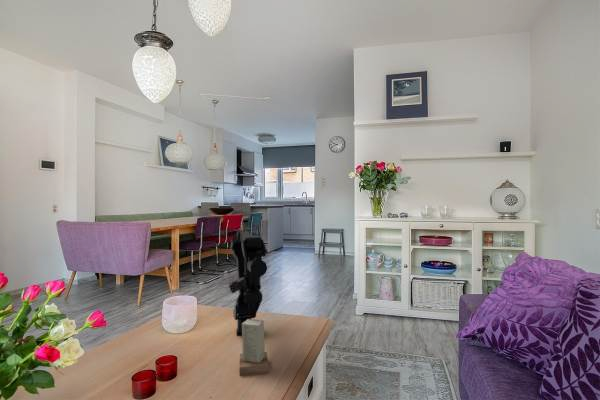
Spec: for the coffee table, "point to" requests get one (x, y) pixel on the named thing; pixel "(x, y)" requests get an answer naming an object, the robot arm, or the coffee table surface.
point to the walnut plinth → (253, 366)
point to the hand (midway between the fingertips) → (252, 313)
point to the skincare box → (253, 340)
